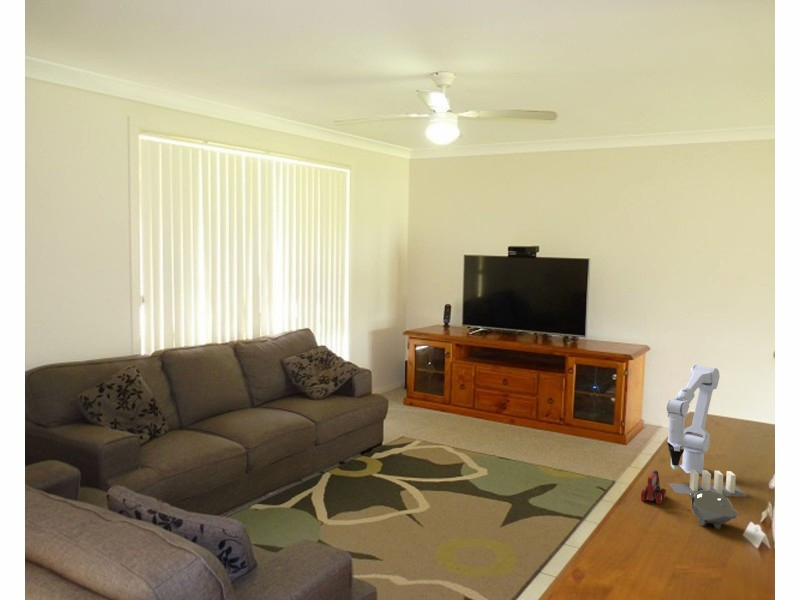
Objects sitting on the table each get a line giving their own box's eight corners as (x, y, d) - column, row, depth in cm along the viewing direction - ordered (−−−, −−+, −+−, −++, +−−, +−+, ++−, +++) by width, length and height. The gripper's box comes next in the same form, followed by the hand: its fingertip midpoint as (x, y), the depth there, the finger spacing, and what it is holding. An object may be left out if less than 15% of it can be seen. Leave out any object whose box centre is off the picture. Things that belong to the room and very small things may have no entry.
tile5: (730, 493, 246) (731, 475, 245) (725, 488, 251) (726, 471, 250) (734, 493, 246) (735, 475, 245) (730, 488, 250) (731, 471, 250)
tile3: (705, 491, 247) (706, 474, 246) (701, 487, 251) (702, 470, 251) (709, 492, 247) (711, 474, 246) (705, 487, 251) (706, 470, 251)
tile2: (693, 491, 248) (694, 473, 247) (689, 486, 252) (690, 469, 251) (697, 491, 247) (698, 473, 247) (693, 487, 252) (694, 469, 251)
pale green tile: (674, 469, 255) (674, 452, 255) (670, 465, 260) (671, 448, 259) (678, 469, 255) (679, 452, 255) (674, 465, 260) (675, 449, 259)
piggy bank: (734, 536, 212) (736, 502, 211) (685, 525, 220) (687, 492, 218) (737, 523, 221) (740, 491, 220) (690, 513, 229) (692, 481, 228)
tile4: (717, 492, 247) (719, 474, 246) (713, 487, 251) (714, 470, 250) (722, 492, 246) (723, 474, 246) (717, 488, 251) (718, 470, 250)
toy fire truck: (667, 496, 244) (668, 469, 242) (658, 507, 234) (660, 480, 233) (648, 492, 248) (649, 465, 247) (638, 502, 238) (640, 475, 237)
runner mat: (668, 484, 255) (668, 483, 255) (736, 487, 253) (737, 486, 253) (676, 494, 246) (676, 493, 246) (747, 497, 243) (748, 496, 243)
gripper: (689, 436, 248) (687, 470, 249) (685, 425, 261) (683, 458, 263) (669, 434, 250) (667, 468, 251) (666, 423, 264) (665, 456, 265)
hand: (674, 463), depth 257 cm, fingers closed on pale green tile, 5 cm apart
